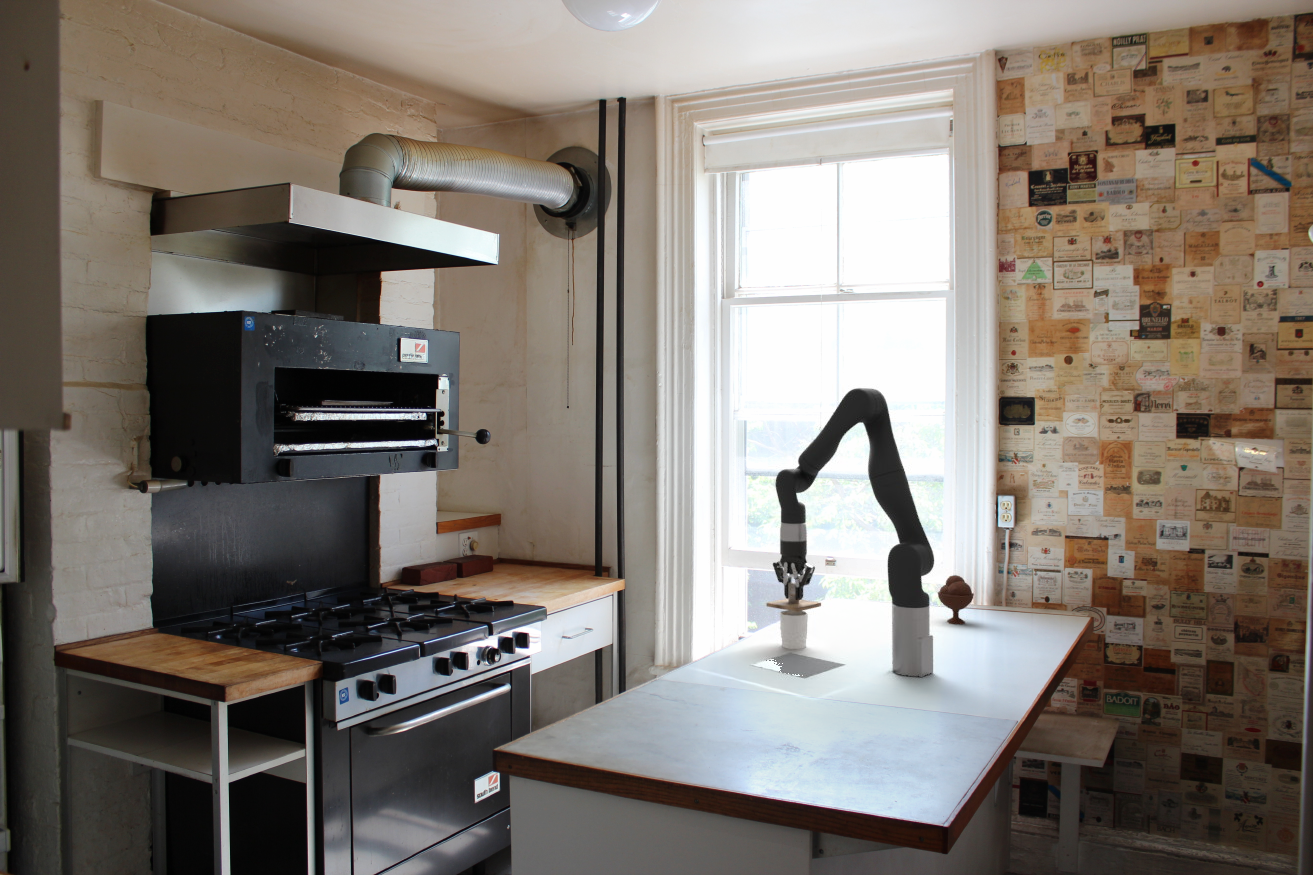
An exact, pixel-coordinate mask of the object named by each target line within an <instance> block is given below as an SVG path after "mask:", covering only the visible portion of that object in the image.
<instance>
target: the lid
mask: <svg viewBox="0 0 1313 875" xmlns="http://www.w3.org/2000/svg"><path fill="white" fill-rule="evenodd" d="M795 587H796V583H795V582H792V583H788V599H787V598H786V597H785V598H783V599H778V600H774V601H768V602H766V605H765V606H766V607H767V608H768V607H769V608H774V609H778V610H779V609H780V610H783V611H786V610H790V611H796V612H799V611H807V610H811V609H815V608H819V607H822V603H821V602H818V601H814V600H813V601H812V600H806V599H805V600H804V599H802V600H796V592H795Z"/></svg>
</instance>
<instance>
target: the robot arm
mask: <svg viewBox="0 0 1313 875" xmlns="http://www.w3.org/2000/svg"><path fill="white" fill-rule="evenodd" d="M860 423H861V424H863V426H864V428H865V431H866V435H867V439H868V442H869V452H868V462H867V474H868V480H869V483H870V485H871V489H872V492H873V496H874V497H875V500H876V501H877V503H878V505H879V506H880V508H881V509H882V510H883V512H884V513H885V514H886V515H887V517H888V518H889V520H890V521H891V523H892V525H893V526H894V529H895V531H896V532H895V533H896V535H897V538H898V542H899V543H897V544H895V545H894V546H892V548H890V550H889V553H888V556H887V582H888V592H889V595H890V598H891V639H892V641H891V643H892V644H891V649H892V650H891V651H892V652H891V653H892V654H891V655H892V662H891V663H892V668H891V669H892V672H893V673H894V674H897V673H898V675H900V674H901V676H906V675H908V677H918V676H919V677H920V678H923V677H926V676H927V674H928V675H931V674H933V673H934V636H933V635H932V634H930V632H931V631H930V630H931V629H930V626H931V625H930V614H931V613H930V595H929V594H928V593H927V592H926V591H924V589H923V581H922V580H923V579H922V577H924V576H927V575H928V574H930V573H931V571H932V570H933V569H934V566H935V555H934V551H933V549H932V546H931V544H930V542H929V539H928V536H927V534H926V532H925V530H924V527H923V525H922V523H921V520H920V517H919V515H918V510H917V507H916V504H915V501H914V498H913V495H912V492H911V488H910V484H909V480H908V477H907V475H906V471H905V468H904V466H903V462H902V460H901V456H900V452H899V449H898V446H897V443H896V440H895V436H894V433H893V427H892V422H891V417H890V412H889V407H888V403H887V400H886V398H885V396H884V394H883V393H882V392H881V391H879V390H878V389H877V388H870V387H869V388H866V387H864V388H863V387H858V388H853V389H851V390H849V391H848V392H847V393H846V394H845V395H844V397H843V398H842V400H841V401H840V402H839V404H838V406H837V407H836V409H835V410H834V412H833V413H832V415H831V416H830V418H829V420H828V421H827V422H826V423H825V425H824V427H823V428H822V429H821V430H820V432H819V433H818V435H817V436H816V437H815V438H814V439H813V441H811V442H810V444H809V445H807V447H806V448H805V449H804V450H803V451H802V453H801V454H800V455H799V456H798V458H797V459H798V460H797V463H798V466H797V467H795V468H785V469H781V470H780V471H779V472H778V473H777V475H776V478H775V490H776V494H777V499H778V503H779V506H780V527H779V528H780V529H779V545H780V546H779V547H780V548H779V552H780V555H781V556H780V558H779V559H780V560H778V561H774V562H772V566H773V570H774V572H775V575H776V578H777V581H778V583H780V584H781V583H782V584H783V588H784V589H783V590H784V597H785V599H786V598H787V599H788V583H793V579H794V581H795V582H794V583H796V587H795V592H796V600H803V598H804V588H805V586H808V585H810V584H811V583H810V582H811V580H812V577H813V574H814V573H815V570H816V567H815V565H810V564H809V563H808V560H807V559H806V558H807V553H808V552H807V551H808V546H807V545H808V544H807V542H808V541H807V536H808V533H807V531H808V530H807V523H806V522H807V520H806V519H807V516H806V515H807V514H806V512H807V511H806V505H805V504H804V502H801V501H799V499H798V495H797V494H801V493H804V492H806V491H807V490H809V489H810V487H811V486H812V485H813V483H814V482H815V480H816V478H817V477H818V474H819V472H820V471H821V470H822V469H823V468H825V466H826V465H827V464H828V463H829V462H830V461H831V460H832V459H833V457H834V455H836V452H837V450H838V448H839V445H840V443H841V440H842V439H844V436H845V435H846V434H847V433H848V432H849V431H850V430H851V429H852V428H854V427H855V426H856V425H858V424H860ZM930 673H931V674H930ZM925 675H926V676H925Z"/></svg>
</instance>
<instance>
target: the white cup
mask: <svg viewBox="0 0 1313 875" xmlns="http://www.w3.org/2000/svg"><path fill="white" fill-rule="evenodd" d="M808 618H809V614H808V612H807V611H806V610H803V611H799V612H796V611H790V610H781V611H780V612H779V619H780V623H779V624H780V637H781V646H782V648H785V649H790V650H800V649H805V648H807V640H808V639H807V636H808V620H809V619H808Z"/></svg>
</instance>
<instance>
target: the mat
mask: <svg viewBox="0 0 1313 875" xmlns="http://www.w3.org/2000/svg"><path fill="white" fill-rule="evenodd" d="M771 659H774V660H772V661H774V662H777V664H776V665H778V664H779V663H780V664H779V665H778V666H782V667H780V669H781V670H780V671H781V672H782V673H781V674H784V673H786V674H785V675H788V673H789V674H791V675H790V676H793V675H792V674H794V675H795V674H796V675H798V674H799V675H800V676H796V677H797V678H802V679H807V678H810V677H813V676H815V675H819V674H822V673H825V672H828V671H830V670H833V669H836V668H840V667H843V666H846V664H844V663H840V662H835V661H831V660H826V659H821V658H816V657H813V656H807V655H804V654H798V653H793V652H788V653H785V654H781V655H779V656H774V657H772V658H771ZM765 660H766V661H767V659H765ZM775 660H776V661H775ZM769 661H771V660H769ZM782 663H783V664H782ZM774 664H775V663H774ZM780 671H779V672H778V673H780ZM802 675H803V676H802Z"/></svg>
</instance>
